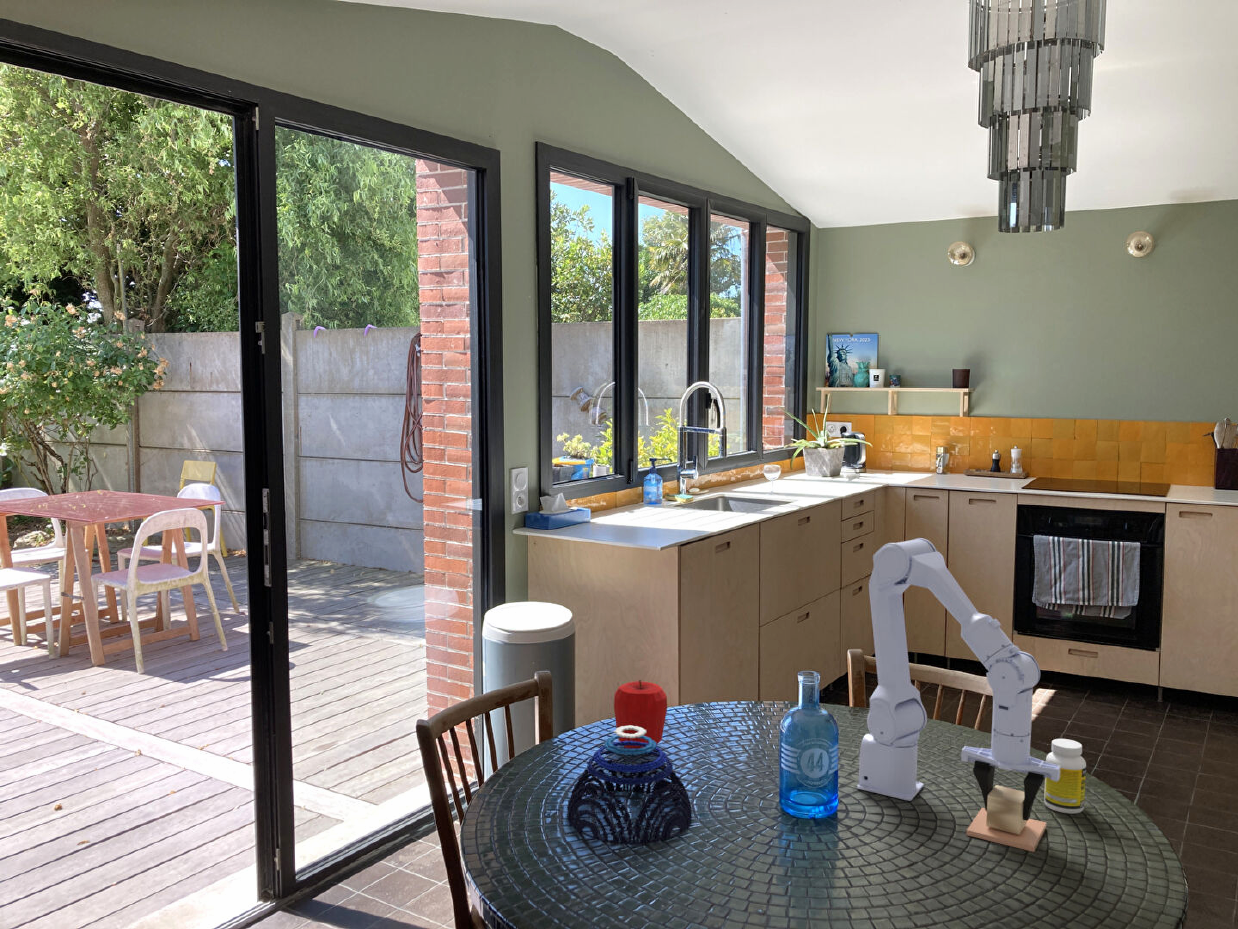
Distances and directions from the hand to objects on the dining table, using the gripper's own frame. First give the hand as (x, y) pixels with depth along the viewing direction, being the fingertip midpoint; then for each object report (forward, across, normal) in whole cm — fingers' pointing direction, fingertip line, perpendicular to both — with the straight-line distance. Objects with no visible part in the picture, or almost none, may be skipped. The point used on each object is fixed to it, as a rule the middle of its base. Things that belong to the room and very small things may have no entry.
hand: (1007, 813), depth 158 cm
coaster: (+3, 0, 0) cm, 3 cm away
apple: (+3, -67, -3) cm, 67 cm away
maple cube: (+2, 0, 0) cm, 2 cm away
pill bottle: (+3, +6, +15) cm, 16 cm away
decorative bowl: (+3, -53, -29) cm, 60 cm away
